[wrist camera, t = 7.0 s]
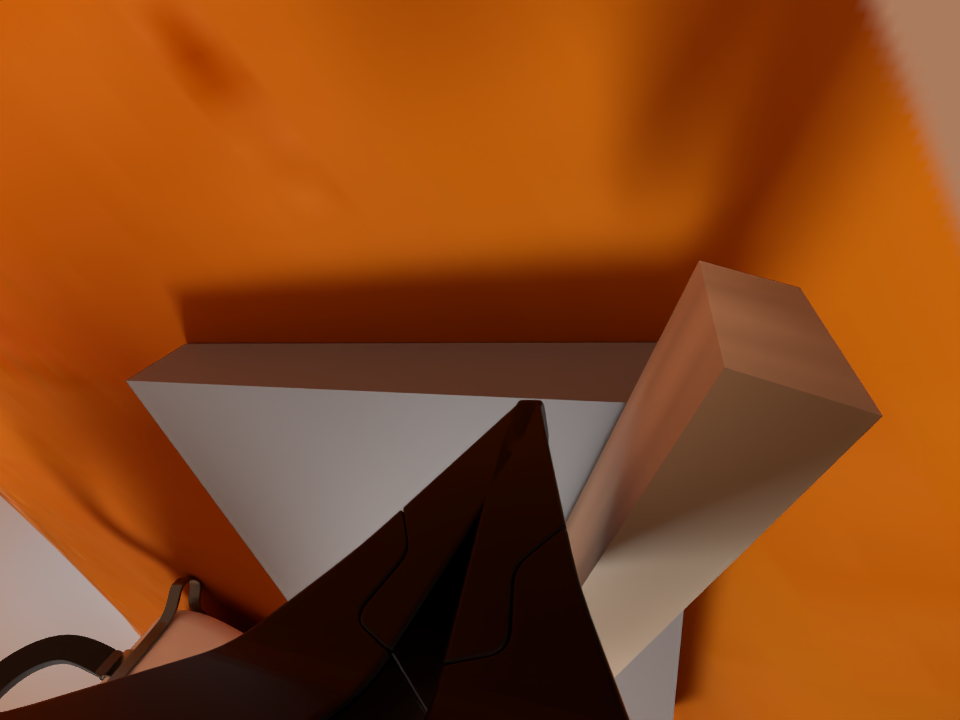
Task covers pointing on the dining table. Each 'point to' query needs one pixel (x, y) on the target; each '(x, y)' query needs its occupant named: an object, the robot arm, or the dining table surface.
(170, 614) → the coffee press
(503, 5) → the dining table surface
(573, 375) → the board
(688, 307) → the lever
